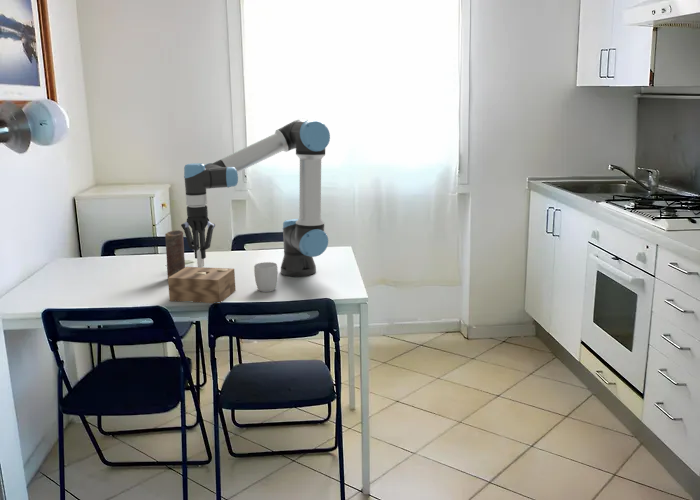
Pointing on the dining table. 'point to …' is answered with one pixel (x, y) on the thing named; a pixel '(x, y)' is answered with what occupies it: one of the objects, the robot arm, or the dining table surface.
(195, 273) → the beech dowel
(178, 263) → the brown cylindrical vase
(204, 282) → the socket block
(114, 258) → the dining table surface
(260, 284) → the mug
